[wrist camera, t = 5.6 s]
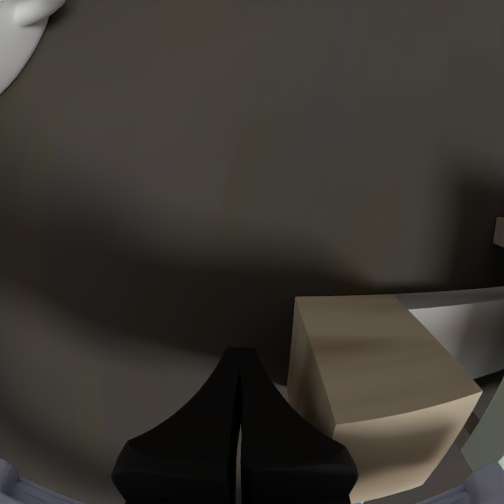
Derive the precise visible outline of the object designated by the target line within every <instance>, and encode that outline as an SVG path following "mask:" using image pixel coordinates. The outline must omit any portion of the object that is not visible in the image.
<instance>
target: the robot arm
mask: <svg viewBox="0 0 504 504" xmlns="http://www.w3.org/2000/svg"><path fill="white" fill-rule="evenodd" d="M240 424H241V430H242V441H241V492H242V504H351V501H350V497H349V494H350V493H351V491H352V489H353V487H354V486H355V484H356V482H357V480H358V477H359V475H358V471H357V467H356V465H355V462H354V460H353V458H352V456H351V455H350V453H349V451H348V449H347V448H346V446H345V445H343V444H341V443H339V442H337V441H335V440H334V439H332V438H330V437H328V436H326V435H325V434H323V433H322V432H320V431H319V430H318V429H316V428H315V427H314V426H312V425H311V424H310V423H309V422H308V421H306V420H305V419H304V418H303V417H302V416H300V415H299V414H298V413H297V412H296V411H295V410H294V409H293V408H292V407H291V405H290V404H289V403H288V402H287V401H286V400H285V399H284V397H283V396H282V395H281V394H280V392H279V391H278V390H277V388H276V387H275V385H274V384H273V382H272V381H271V379H270V378H269V376H268V374H267V372H266V371H265V369H264V367H263V365H262V363H261V361H260V358H259V355H258V352H257V350H256V349H255V348H227V349H226V350H225V351H224V354H223V356H222V358H221V360H220V362H219V363H218V365H217V367H216V368H215V370H214V371H213V373H212V374H211V376H210V377H209V378H208V380H207V381H206V382H205V384H204V385H203V386H202V387H201V389H200V390H199V391H198V392H197V393H196V394H195V395H194V396H193V397H192V398H191V399H190V400H189V401H188V402H187V403H186V404H185V405H184V406H183V407H182V408H181V409H180V410H178V411H177V412H176V413H175V414H174V415H172V416H171V417H170V418H168V419H167V420H165V421H164V422H162V423H161V424H159V425H158V426H156V427H155V428H153V429H151V430H150V431H148V432H146V433H144V434H142V435H140V436H137V437H135V438H133V439H131V440H129V441H127V442H126V444H125V446H124V447H123V449H122V451H121V453H120V454H119V456H118V459H117V461H116V464H115V467H114V469H113V472H112V477H111V479H112V481H113V483H114V485H115V486H116V488H117V489H118V491H119V492H120V494H121V495H122V496H123V498H124V499H125V501H126V503H125V504H236V456H237V446H238V438H239V431H240ZM363 502H364V501H363ZM363 502H359V503H354V504H363ZM0 504H85V503H82V502H79V501H77V500H74V499H71V498H69V497H66V496H63V495H61V494H58V493H56V492H54V491H51V490H49V489H47V488H44V487H42V486H40V485H38V484H36V483H34V482H32V481H30V480H28V479H26V478H24V477H22V476H20V475H19V473H18V472H17V471H16V469H15V468H14V467H13V466H12V465H11V464H9V463H8V462H7V461H5V460H3V459H2V458H0ZM415 504H504V470H503V469H502V467H501V465H500V464H499V462H498V461H497V460H495V461H493V462H491V463H489V464H488V465H486V466H484V467H482V468H480V469H478V470H476V471H475V472H474V473H472V474H471V475H470V476H469V477H468V478H467V479H466V481H465V482H464V484H462V485H460V486H458V487H455V488H453V489H451V490H449V491H446V492H444V493H441V494H439V495H436V496H434V497H431V498H429V499H426V500H423V501H420V502H418V503H415Z"/></svg>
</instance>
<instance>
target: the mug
mask: <svg viewBox="0 0 504 504" xmlns="http://www.w3.org/2000/svg"><path fill="white" fill-rule="evenodd" d="M65 1H66V0H0V94H1V93H2V92H3V91H4V90H5V89H6V88H7V87H8V86H9V85H10V84H11V83H12V82H13V81H14V80H15V78H16V77H17V76H18V75H19V73H20V72H21V71H22V69H23V68H24V66H25V65H26V64H27V62H28V61H29V59H30V57H31V56H32V54H33V52H34V51H35V49H36V47H37V45H38V43H39V41H40V39H41V37H42V35H43V33H44V30H45V28H46V25H47V22H48V19H49V16H50V15H51V14H53V13H54V12H55V11H56V10H58V9H59V8H60V7H61V6H62V5H63V4H64V3H65Z"/></svg>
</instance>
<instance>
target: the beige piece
mask: <svg viewBox="0 0 504 504" xmlns="http://www.w3.org/2000/svg"><path fill="white" fill-rule="evenodd" d="M502 369H504V286H502V287H492V288H480V289H468V290H455V291H440V292H424V293H405V294H383V295H355V296H305V297H295V304H294V317H293V329H292V341H291V351H290V362H289V372H288V381H287V392H288V398H289V404H290V405H291V407H292V408H293V409H294V410H295V411H296V412H297V413H298V414H299V415H300V416H302V417H303V418H304V419H305V420H306V421H308V422H309V423H310V424H311V425H312V426H314V427H315V428H316V429H318V430H319V431H320V432H322V433H323V434H325V435H326V436H328V437H330V438H332V439H334V440H335V441H337V442H339V443H341V444H343V445H345V446H346V448H347V449H348V451H349V453H350V455H351V456H352V458H353V460H354V462H355V465H356V467H357V471H358V475H359V477H358V480H357V482H356V484H355V486H354V487H353V489H352V491H351V493H350V494H349V497H350V501H351V504H354V503H359V502H363V501H368V500H372V499H376V498H380V497H384V496H388V495H392V494H395V493H399V492H402V491H406V490H409V489H412V488H415V487H418V486H421V485H422V484H423V483H424V482H425V481H426V479H427V478H428V477H429V476H430V474H431V473H432V472H433V470H434V469H435V468H436V466H437V465H438V464H439V462H440V461H441V459H442V458H443V457H444V455H445V454H446V452H447V451H448V449H449V448H450V446H451V445H452V443H453V442H454V440H455V439H456V437H457V436H458V434H459V433H460V431H461V429H462V428H463V426H464V424H465V423H466V421H467V419H468V418H469V416H470V414H471V412H472V411H473V409H474V407H475V405H476V403H477V401H478V400H479V398H480V396H481V394H482V392H483V390H482V389H481V388H480V387H479V386H478V385H477V383H476V382H475V381H474V380H473V379H476V378H479V377H482V376H485V375H488V374H491V373H494V372H497V371H500V370H502Z"/></svg>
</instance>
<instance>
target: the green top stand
mask: <svg viewBox="0 0 504 504" xmlns="http://www.w3.org/2000/svg"><path fill="white" fill-rule="evenodd" d="M493 243H494V244H496V245H499V246H501V247H503V248H504V217H497V219H496V226H495V233H494V240H493ZM454 441H455V442H456V444H457V446H458V447H459V449H460V451H461V452H462V454H463V456H464V457H465V459H466V461H467V462H468V464H469V466H470V468H471V469H472V471H473V473H474V472H475V471H476V470H478V469H480V468H482V467H484V466H486V465H488V464H489V463H491V462H493V461H495V460H497V461H498V462H499V464H500V465H501V467H502V469H503V470H504V377H503V379H502V381H501V383H500V385H499V387H498V389H497V391H496V393H495V395H494V397H493V399H492V400H491V402H490V404H489V406H488V408H487V409H486V411H485V413H484V415H483V416H482V418H481V420H479V419H478V418H477V416H476V415H475V414H474V412H473V411H472V412H471V414H470V416H469V418H468V419H467V421H466V423H465V424H464V426H463V428H462V429H461V431H460V433H459V434H458V436H457V437H456V439H455V440H454Z"/></svg>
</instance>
